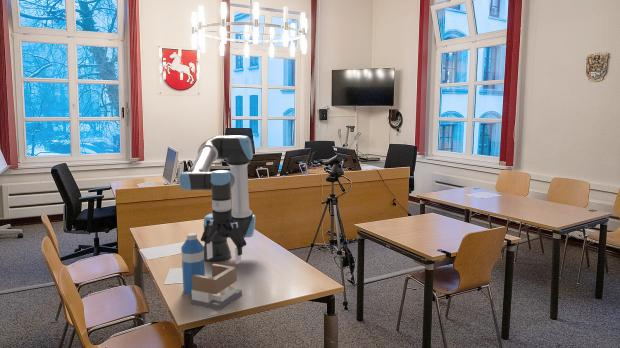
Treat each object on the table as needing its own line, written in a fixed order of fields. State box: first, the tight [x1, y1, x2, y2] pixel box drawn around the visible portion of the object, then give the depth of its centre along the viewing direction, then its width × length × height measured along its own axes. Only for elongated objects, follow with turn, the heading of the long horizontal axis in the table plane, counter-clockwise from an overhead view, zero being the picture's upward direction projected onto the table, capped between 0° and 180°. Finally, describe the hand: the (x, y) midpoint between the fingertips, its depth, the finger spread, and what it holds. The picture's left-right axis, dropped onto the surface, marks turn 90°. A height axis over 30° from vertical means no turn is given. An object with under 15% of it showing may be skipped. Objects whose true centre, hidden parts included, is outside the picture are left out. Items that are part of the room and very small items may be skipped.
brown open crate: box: [192, 263, 238, 294], centre depth 188 cm, size 11×15×6 cm
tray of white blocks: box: [190, 284, 243, 311], centre depth 190 cm, size 14×16×10 cm
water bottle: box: [180, 232, 206, 296], centre depth 197 cm, size 9×9×25 cm
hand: (223, 260), depth 186 cm, fingers open, 13 cm apart
